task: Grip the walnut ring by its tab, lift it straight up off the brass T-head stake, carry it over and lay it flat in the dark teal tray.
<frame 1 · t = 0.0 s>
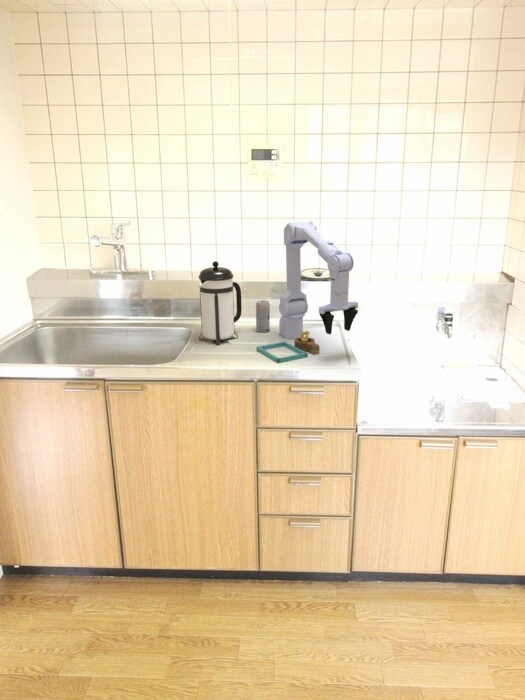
hand: (337, 331, 171), 10 cm above the table, tool pointing down, fingers open, 7 cm apart
stake base: (304, 350, 184), on the table
coffee press: (220, 338, 199), on the table
ring: (304, 348, 183), point 1 cm above the table, touching stake base
energy drink: (263, 331, 207), on the table
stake: (304, 340, 182), on the stake base, point 4 cm above the table
tray: (281, 356, 178), on the table
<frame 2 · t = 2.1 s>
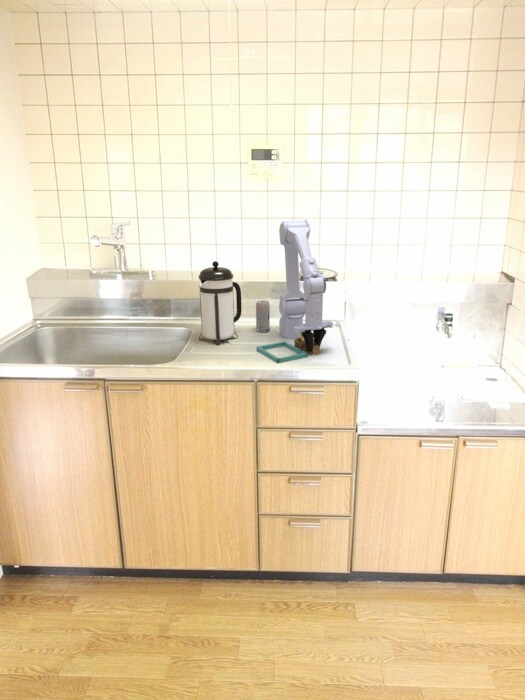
hand: (313, 350, 178), 2 cm above the table, tool pointing down, fingers closed on ring, 2 cm apart
ring: (304, 348, 183), point 1 cm above the table, touching gripper, stake base
everything else where it was.
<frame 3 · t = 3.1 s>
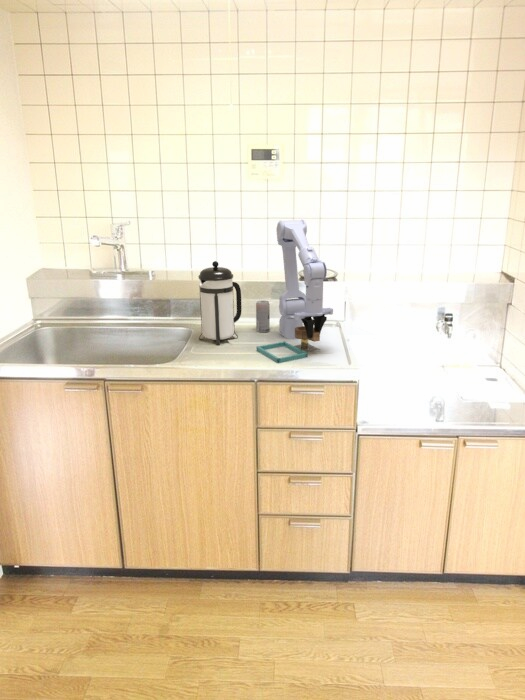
hand: (313, 337, 177), 7 cm above the table, tool pointing down, fingers closed on ring, 2 cm apart
ring: (304, 336, 182), point 5 cm above the table, touching gripper
everything else where it was.
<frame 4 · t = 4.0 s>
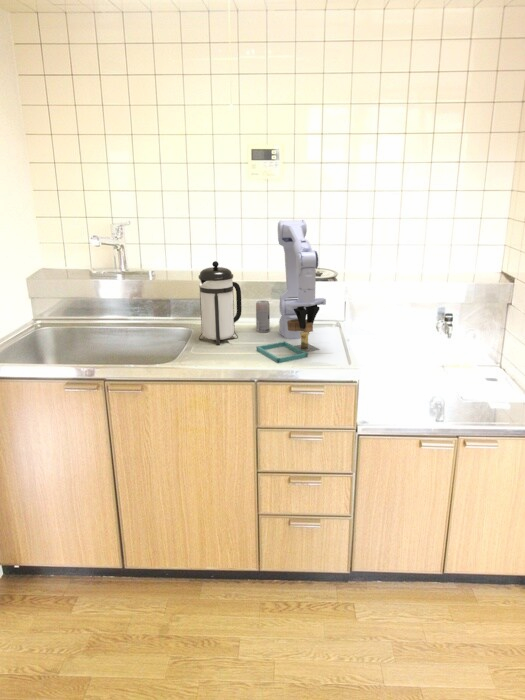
hand: (306, 327, 175), 10 cm above the table, tool pointing down, fingers closed on ring, 2 cm apart
ring: (297, 329, 179), point 9 cm above the table, tilted 7°, touching gripper
everything else where it was.
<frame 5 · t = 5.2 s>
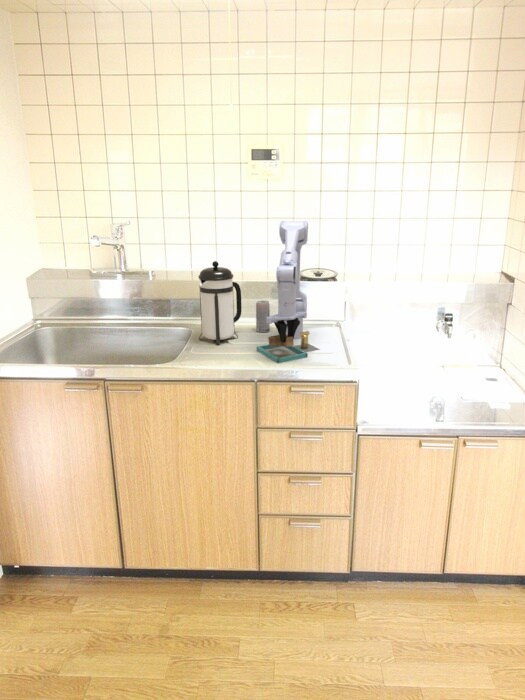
hand: (286, 341, 173), 7 cm above the table, tool pointing down, fingers closed on ring, 2 cm apart
ring: (279, 344, 178), point 4 cm above the table, tilted 13°, touching gripper
everything else where it was.
when the fingers open (3 cm above the table, at t = 6.1 s): ring stays where it is, resting on tray.
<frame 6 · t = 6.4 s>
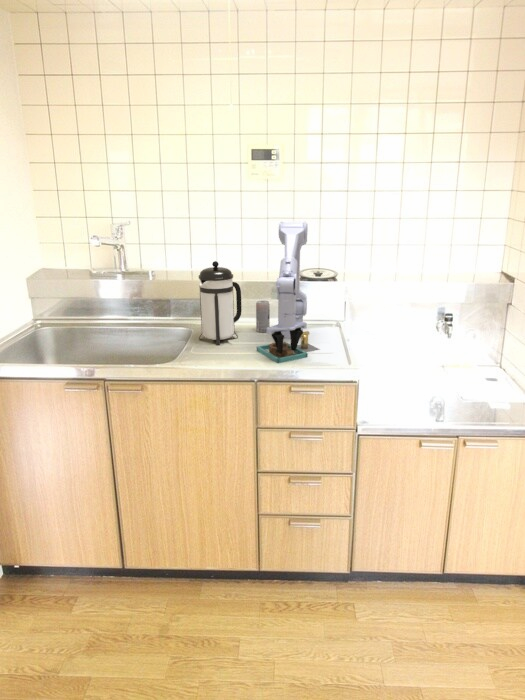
hand: (286, 351, 174), 3 cm above the table, tool pointing down, fingers open, 5 cm apart
ring: (279, 353, 179), point 1 cm above the table, touching tray
everything else where it was.
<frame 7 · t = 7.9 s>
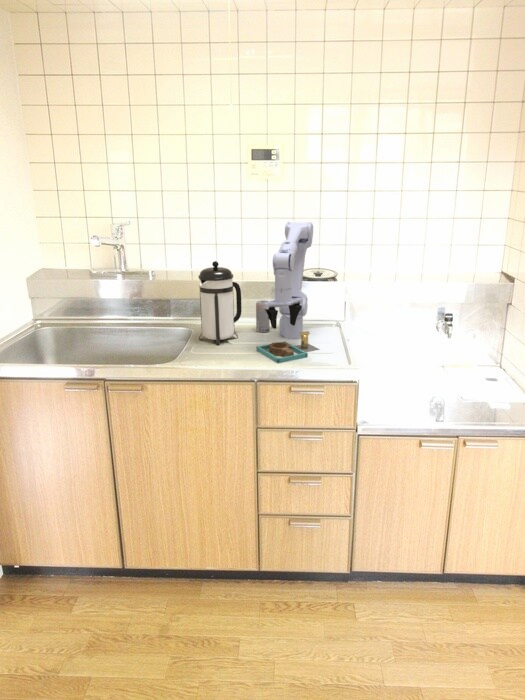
hand: (283, 326, 180), 9 cm above the table, tool pointing down, fingers open, 7 cm apart
nothing on the table moved.
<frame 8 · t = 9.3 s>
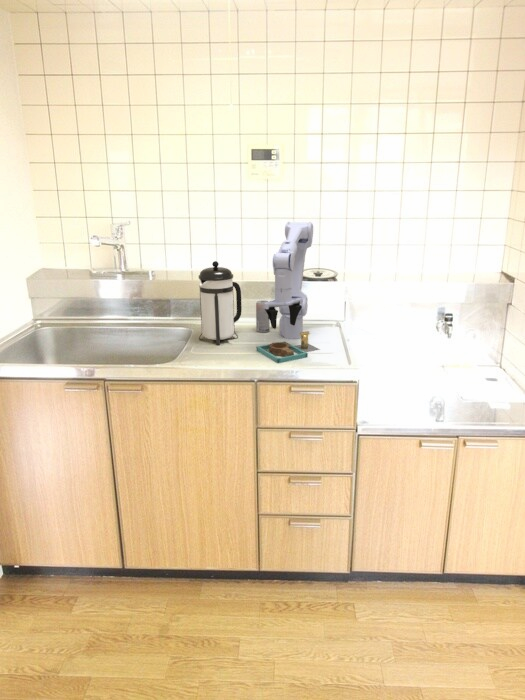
hand: (283, 326, 180), 9 cm above the table, tool pointing down, fingers open, 7 cm apart
nothing on the table moved.
at the end: ring 0.4 cm from the target spot on the tray, point 0.6 cm above the tray's base; ring tilted 0°; the gripper is holding nothing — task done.
